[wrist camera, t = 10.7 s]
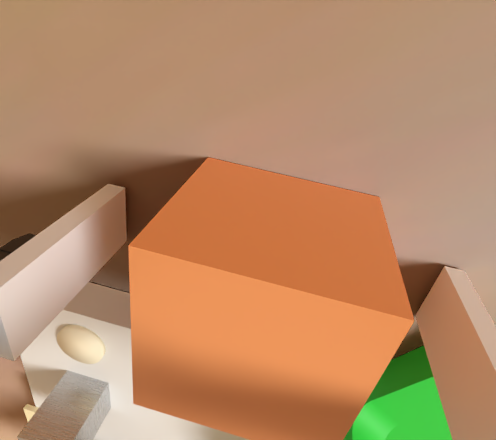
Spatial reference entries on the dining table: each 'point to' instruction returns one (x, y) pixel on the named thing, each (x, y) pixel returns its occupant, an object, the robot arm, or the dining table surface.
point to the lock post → (70, 410)
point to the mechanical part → (403, 404)
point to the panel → (102, 367)
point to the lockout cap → (264, 304)
